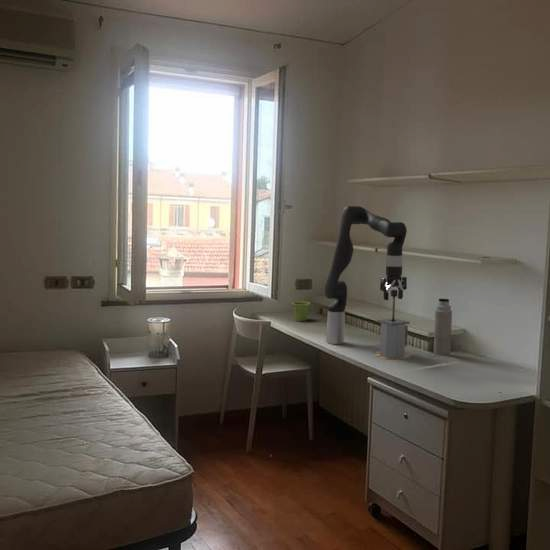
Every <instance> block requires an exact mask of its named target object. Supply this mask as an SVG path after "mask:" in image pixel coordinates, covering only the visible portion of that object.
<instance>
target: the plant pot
mask: <svg viewBox="0 0 550 550" xmlns="http://www.w3.org/2000/svg"><path fill="white" fill-rule="evenodd" d="M291 304H292V309H293V314H294V321H296V322H302V321H303V322H305V321H307V318H308V314H309V313H308V312H309V308H310V307H309V306H310V302H308V301H294V302H291Z"/></svg>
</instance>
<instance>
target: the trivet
mask: <svg viewBox="0 0 550 550" xmlns="http://www.w3.org/2000/svg"><path fill="white" fill-rule="evenodd" d="M373 356H374V357H375V358H377V359H383V360H388V361H390V360H393V361H401V360H402V361H403V360H404V361H405V360H408V359H410V358H411V359H412V355H411V354H409V353H406V352H404V357H402V358H386V357H383V356H380V351H376V352H375V353H373Z"/></svg>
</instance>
